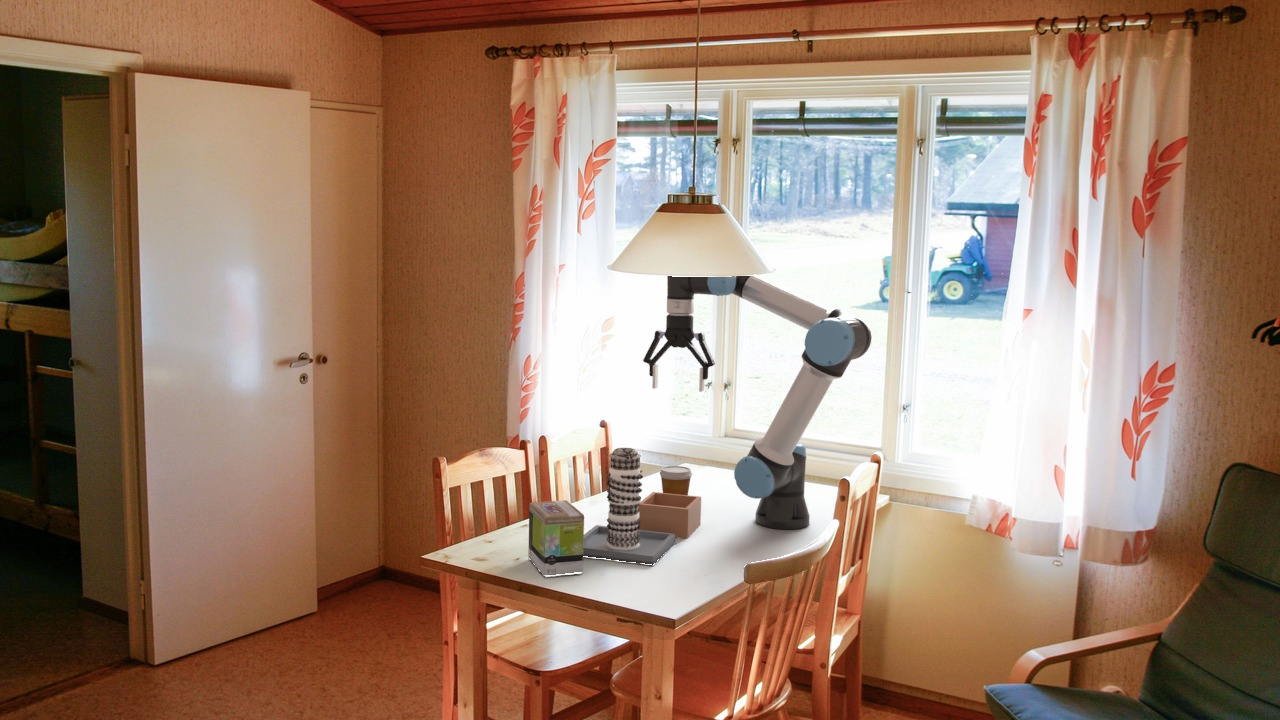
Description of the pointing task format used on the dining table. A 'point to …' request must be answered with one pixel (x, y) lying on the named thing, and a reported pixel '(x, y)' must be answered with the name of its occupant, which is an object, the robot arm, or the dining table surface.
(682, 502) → the terracotta holder
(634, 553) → the slate tray
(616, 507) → the decorative candle
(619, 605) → the dining table surface
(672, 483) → the disposable coffee cup
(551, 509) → the tea box
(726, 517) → the dining table surface
